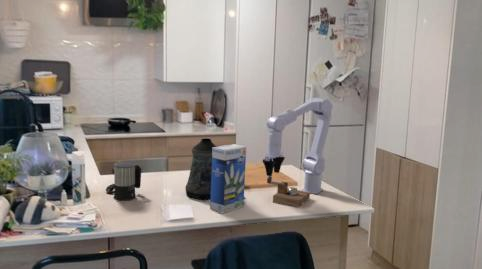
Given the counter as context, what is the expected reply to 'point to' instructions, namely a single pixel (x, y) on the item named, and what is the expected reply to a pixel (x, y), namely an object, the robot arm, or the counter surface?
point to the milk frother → (125, 181)
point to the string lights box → (228, 177)
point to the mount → (285, 198)
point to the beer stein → (200, 171)
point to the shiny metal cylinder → (293, 191)
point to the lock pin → (269, 180)
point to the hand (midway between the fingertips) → (272, 174)
